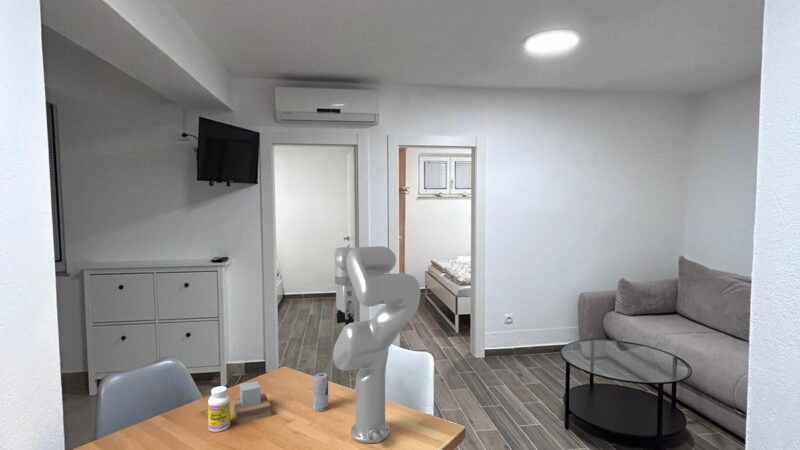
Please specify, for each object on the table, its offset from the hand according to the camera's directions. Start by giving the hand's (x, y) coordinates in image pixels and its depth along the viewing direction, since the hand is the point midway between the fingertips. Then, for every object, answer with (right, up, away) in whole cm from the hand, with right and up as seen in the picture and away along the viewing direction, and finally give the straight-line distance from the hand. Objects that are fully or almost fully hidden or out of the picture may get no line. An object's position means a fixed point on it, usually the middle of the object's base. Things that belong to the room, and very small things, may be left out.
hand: (345, 326), depth 154 cm
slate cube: (-33, -25, -8) cm, 42 cm away
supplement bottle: (-39, -29, -18) cm, 52 cm away
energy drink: (-8, -29, -5) cm, 30 cm away
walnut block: (-32, -29, -8) cm, 44 cm away
